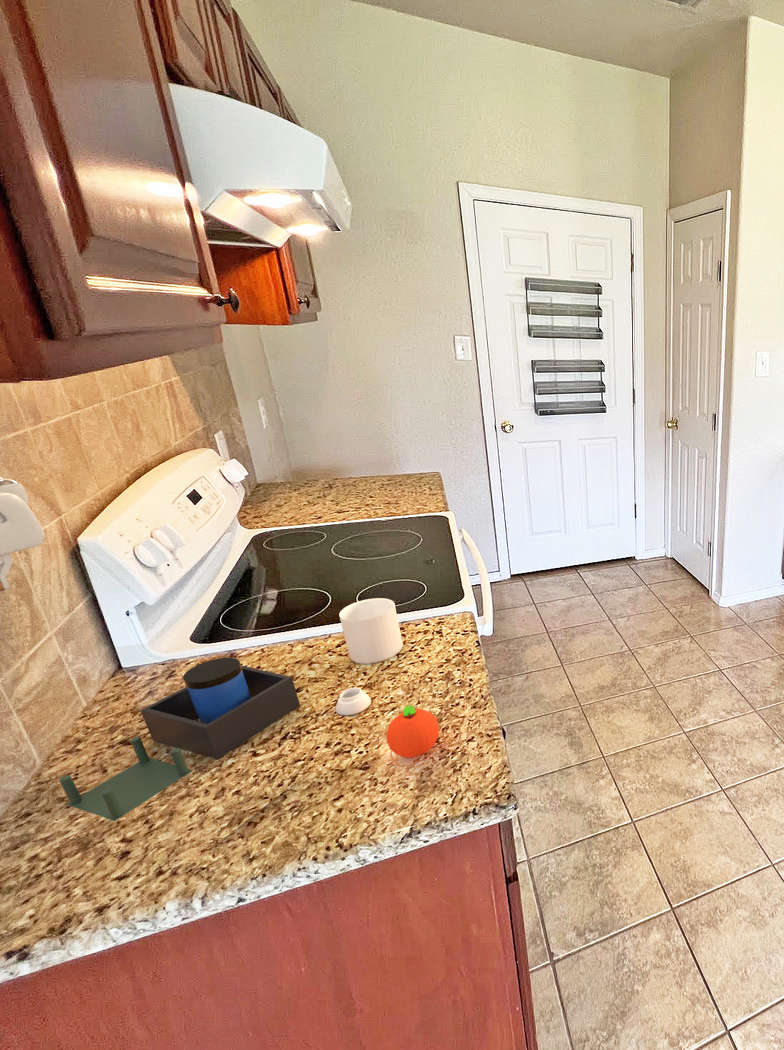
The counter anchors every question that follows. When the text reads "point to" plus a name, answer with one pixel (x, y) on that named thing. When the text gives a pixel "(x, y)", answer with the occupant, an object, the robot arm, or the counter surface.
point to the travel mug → (216, 687)
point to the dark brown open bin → (215, 739)
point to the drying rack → (128, 784)
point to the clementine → (412, 732)
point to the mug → (371, 630)
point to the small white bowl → (352, 702)
